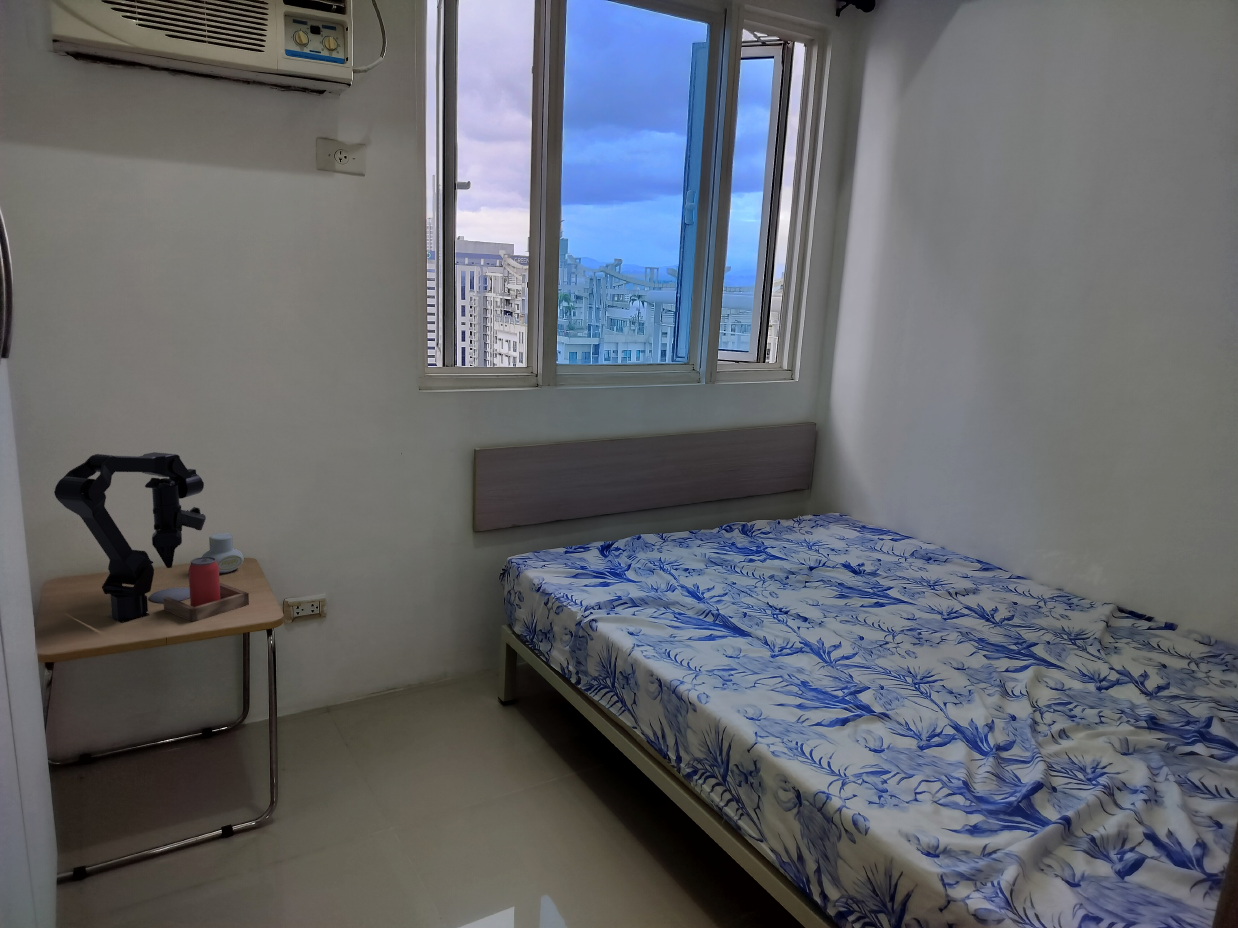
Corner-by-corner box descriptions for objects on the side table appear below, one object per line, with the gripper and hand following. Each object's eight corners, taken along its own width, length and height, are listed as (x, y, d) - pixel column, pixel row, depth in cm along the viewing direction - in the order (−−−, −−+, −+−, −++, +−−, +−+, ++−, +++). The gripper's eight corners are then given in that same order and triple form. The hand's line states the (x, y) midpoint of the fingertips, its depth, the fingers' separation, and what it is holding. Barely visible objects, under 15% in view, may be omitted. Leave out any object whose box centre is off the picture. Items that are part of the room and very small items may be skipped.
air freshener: (210, 578, 214) (208, 542, 212) (195, 571, 219) (193, 536, 217) (249, 569, 223) (247, 535, 221) (234, 562, 228) (232, 529, 226)
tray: (192, 621, 185) (191, 609, 185) (164, 609, 191) (163, 597, 191) (249, 604, 197) (248, 593, 197) (220, 593, 204) (219, 582, 203)
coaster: (163, 605, 194) (163, 604, 194) (141, 596, 199) (141, 595, 199) (202, 594, 202) (202, 593, 202) (181, 586, 207) (180, 584, 207)
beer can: (226, 602, 198) (224, 557, 195) (210, 612, 191) (207, 565, 189) (201, 600, 198) (199, 555, 196) (184, 610, 192) (182, 563, 189)
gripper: (203, 509, 192) (206, 570, 195) (202, 492, 208) (205, 549, 211) (150, 512, 186) (154, 575, 189) (153, 495, 203) (157, 553, 205)
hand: (169, 562), depth 199 cm, fingers open, 8 cm apart
